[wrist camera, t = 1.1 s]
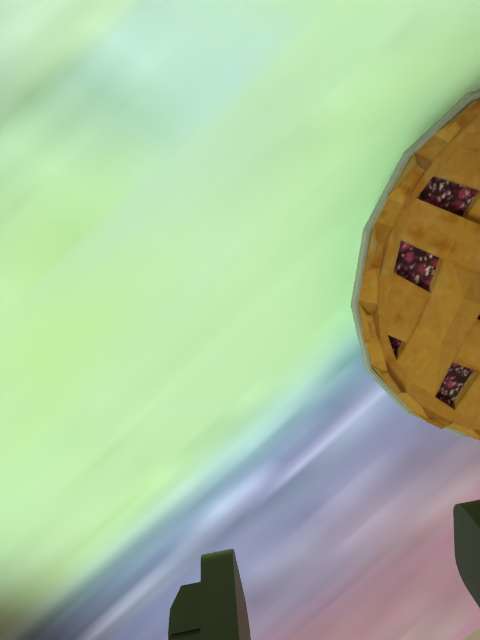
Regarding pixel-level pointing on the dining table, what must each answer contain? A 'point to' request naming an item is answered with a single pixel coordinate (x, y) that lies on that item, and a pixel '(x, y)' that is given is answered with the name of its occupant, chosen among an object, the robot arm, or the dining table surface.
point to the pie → (427, 277)
